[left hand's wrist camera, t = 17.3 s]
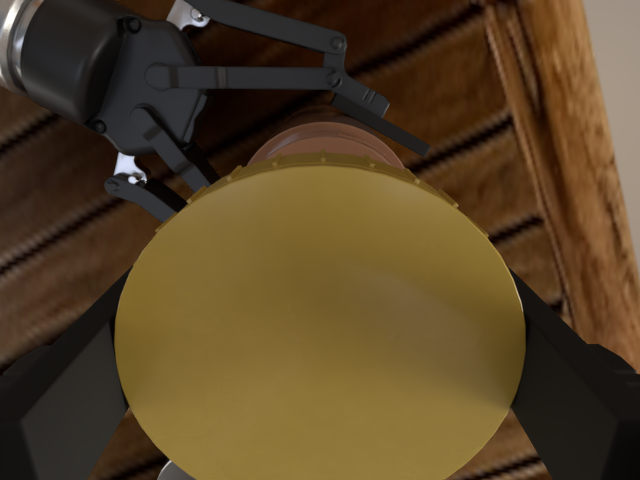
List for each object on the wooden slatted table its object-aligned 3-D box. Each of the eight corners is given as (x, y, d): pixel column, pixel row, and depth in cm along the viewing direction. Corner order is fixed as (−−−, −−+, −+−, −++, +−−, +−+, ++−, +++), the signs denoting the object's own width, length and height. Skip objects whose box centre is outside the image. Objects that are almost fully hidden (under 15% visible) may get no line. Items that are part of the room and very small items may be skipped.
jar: (361, 230, 36) (385, 329, 22) (256, 201, 35) (210, 285, 21) (397, 123, 33) (452, 158, 19) (282, 89, 32) (251, 99, 18)
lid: (243, 66, 10) (226, 62, 8) (575, 272, 12) (620, 306, 10) (88, 377, 13) (51, 425, 11) (371, 503, 15) (378, 561, 13)
